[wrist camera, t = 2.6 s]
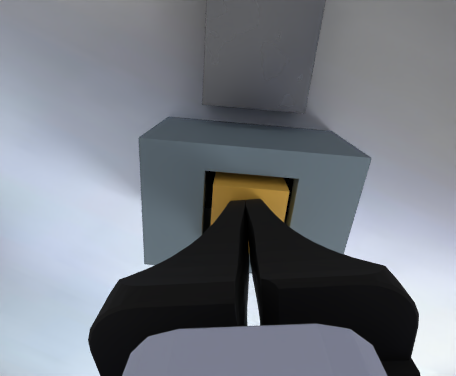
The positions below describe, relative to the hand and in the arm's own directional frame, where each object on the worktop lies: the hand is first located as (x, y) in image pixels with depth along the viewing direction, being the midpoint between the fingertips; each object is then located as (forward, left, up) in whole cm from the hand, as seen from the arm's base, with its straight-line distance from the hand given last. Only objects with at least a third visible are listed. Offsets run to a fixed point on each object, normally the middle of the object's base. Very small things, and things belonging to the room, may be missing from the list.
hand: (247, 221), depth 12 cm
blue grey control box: (0, 0, -5) cm, 5 cm away
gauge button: (0, 0, -3) cm, 3 cm away
